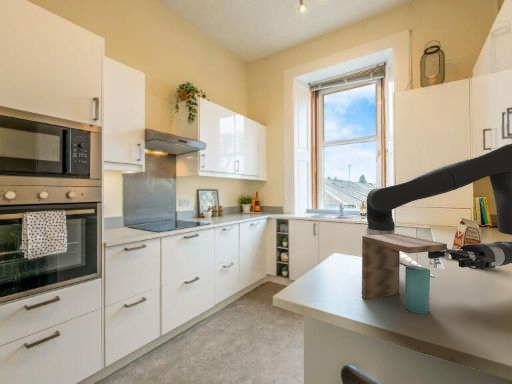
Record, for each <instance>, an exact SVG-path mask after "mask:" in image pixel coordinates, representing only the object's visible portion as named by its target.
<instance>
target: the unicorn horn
mask: <svg viewBox="0 0 512 384" xmlns="http://www.w3.org/2000/svg"><path fill="white" fill-rule="evenodd" d="M400 264H402V265H404V264H405V265H404V266H406V265H407V266H420V267H423V266H422V265H421V264H419V263H418V262H417V261H415V259H413V258H412V257H409V255H407V253H405V252H401V251H400ZM430 277H432V278H434V277H435V276H434V275H433V273H430Z"/></svg>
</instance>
